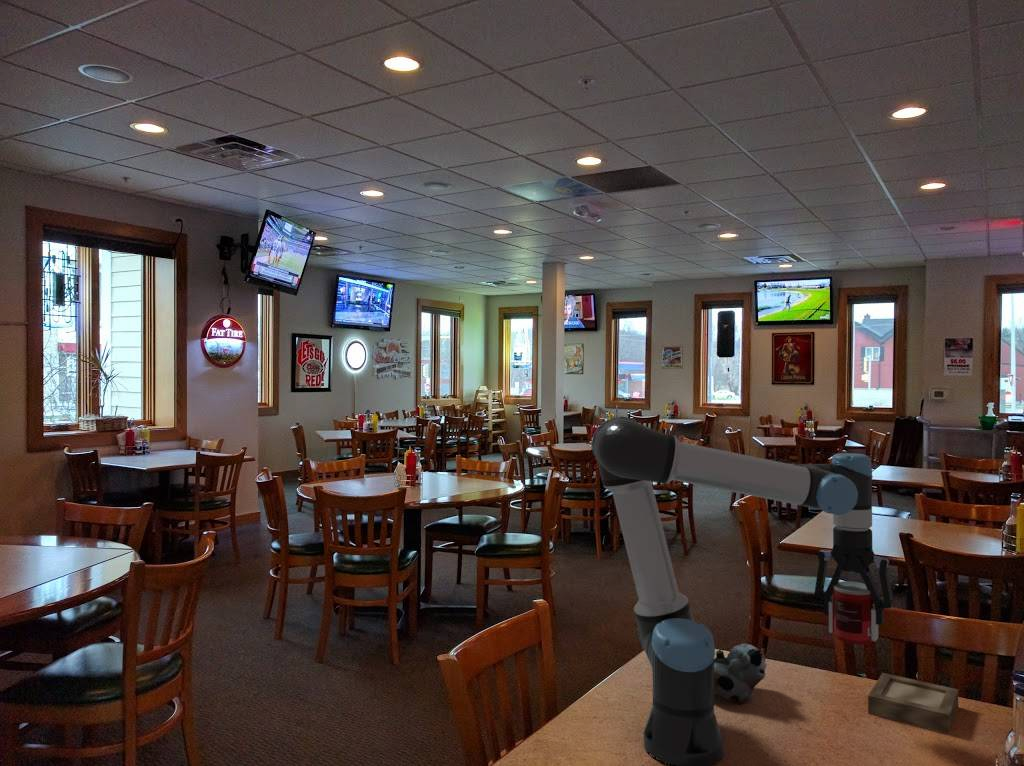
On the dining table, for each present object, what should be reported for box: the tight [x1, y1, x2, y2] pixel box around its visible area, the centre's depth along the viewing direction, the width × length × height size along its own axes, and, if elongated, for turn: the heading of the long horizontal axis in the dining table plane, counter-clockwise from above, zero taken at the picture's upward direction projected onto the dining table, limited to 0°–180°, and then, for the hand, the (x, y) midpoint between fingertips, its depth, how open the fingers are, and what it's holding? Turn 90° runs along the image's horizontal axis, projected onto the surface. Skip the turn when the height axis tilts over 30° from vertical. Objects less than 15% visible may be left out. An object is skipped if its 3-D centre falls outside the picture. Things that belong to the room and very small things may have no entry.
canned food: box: [832, 580, 874, 645], centre depth 155 cm, size 8×8×11 cm
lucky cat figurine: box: [714, 643, 768, 705], centre depth 168 cm, size 15×12×14 cm
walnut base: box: [867, 672, 959, 734], centre depth 159 cm, size 15×15×4 cm
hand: (853, 634), depth 155 cm, fingers closed on canned food, 8 cm apart
